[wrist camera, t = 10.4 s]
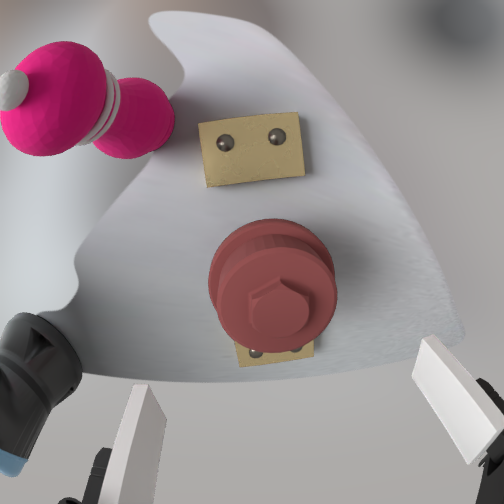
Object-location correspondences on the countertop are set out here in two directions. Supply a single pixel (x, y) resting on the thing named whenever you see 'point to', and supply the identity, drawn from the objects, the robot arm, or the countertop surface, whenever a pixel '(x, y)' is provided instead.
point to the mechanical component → (273, 285)
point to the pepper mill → (80, 105)
